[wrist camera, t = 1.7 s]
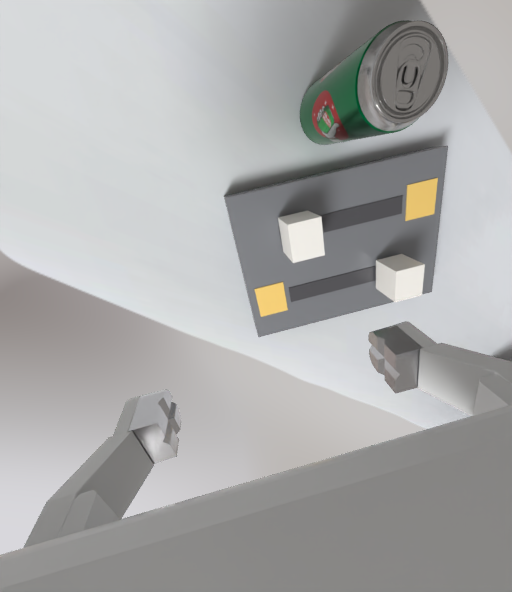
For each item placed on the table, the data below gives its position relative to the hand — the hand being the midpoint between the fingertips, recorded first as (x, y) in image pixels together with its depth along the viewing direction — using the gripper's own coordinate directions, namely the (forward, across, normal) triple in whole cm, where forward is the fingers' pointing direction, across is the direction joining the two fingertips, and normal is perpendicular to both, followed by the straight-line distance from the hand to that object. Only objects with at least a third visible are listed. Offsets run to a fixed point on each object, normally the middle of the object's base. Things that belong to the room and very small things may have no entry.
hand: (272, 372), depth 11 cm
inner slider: (+18, -6, 0) cm, 19 cm away
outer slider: (+18, -16, +7) cm, 25 cm away
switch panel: (+20, -11, +3) cm, 23 cm away
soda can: (+20, -11, -10) cm, 25 cm away
